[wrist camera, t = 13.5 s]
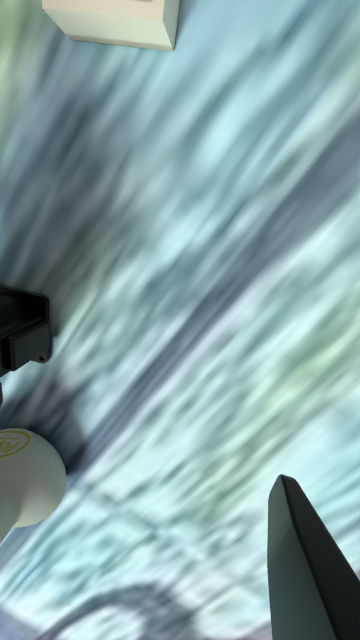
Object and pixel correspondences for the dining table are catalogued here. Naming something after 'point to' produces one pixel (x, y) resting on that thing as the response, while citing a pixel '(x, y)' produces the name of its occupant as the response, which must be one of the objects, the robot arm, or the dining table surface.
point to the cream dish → (117, 21)
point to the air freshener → (28, 479)
